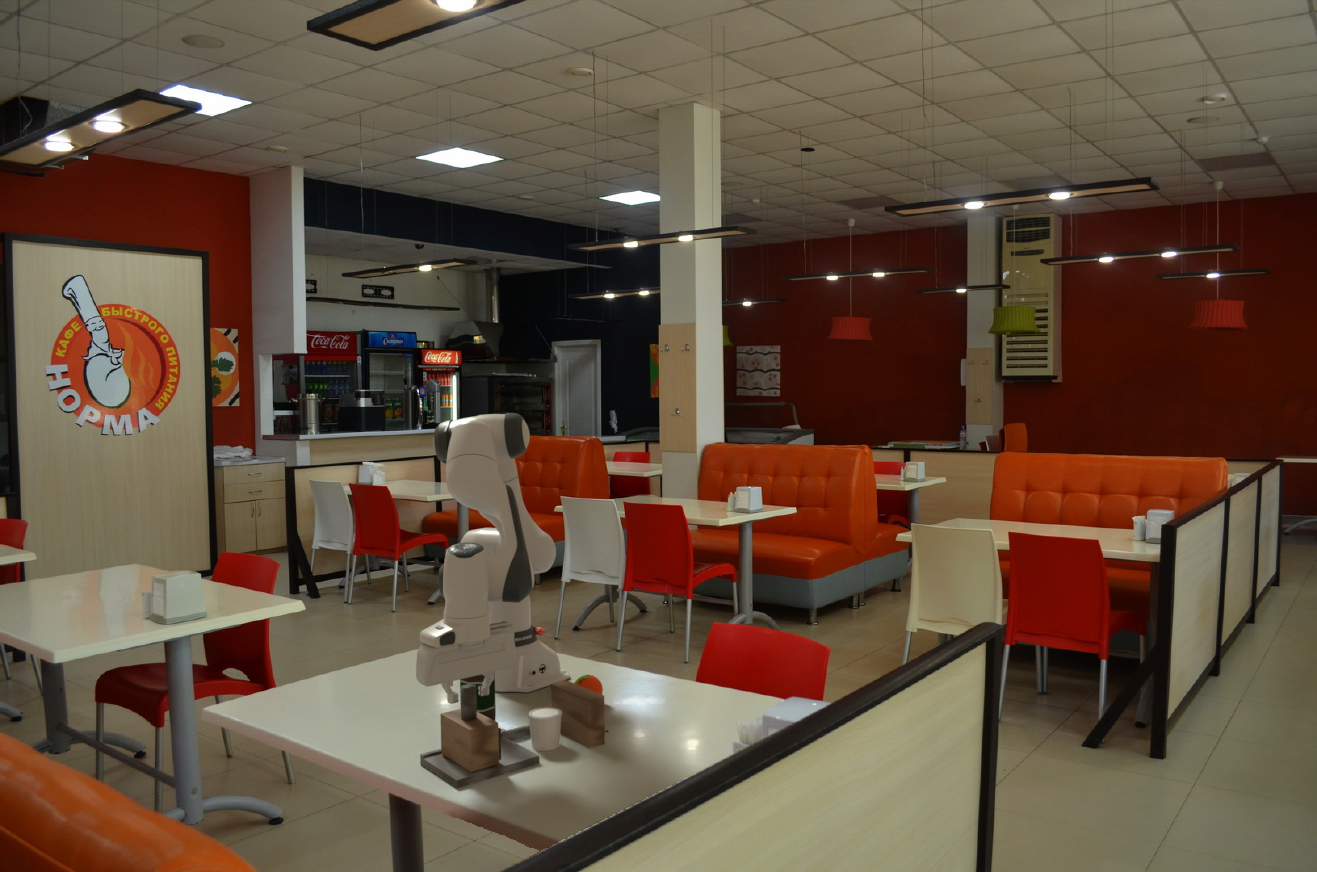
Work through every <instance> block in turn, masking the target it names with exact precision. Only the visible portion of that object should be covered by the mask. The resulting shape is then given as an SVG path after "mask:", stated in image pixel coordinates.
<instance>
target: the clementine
mask: <svg viewBox="0 0 1317 872" xmlns="http://www.w3.org/2000/svg"><path fill="white" fill-rule="evenodd" d="M573 683H574V684H577V685H579V686H582V687H584V688H587V689H589V690H592V691H594V692H596V693H599V694H601V695H603V690H604V689H603V688H604V687H603V684H602V682H601V680H600V679H599V678H598V677H596V676H595V675H593V674H583V675H581V676H580V677H578V678H577V679H576V680H575V682H573Z"/></svg>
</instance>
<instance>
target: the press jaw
mask: <svg viewBox="0 0 1317 872" xmlns="http://www.w3.org/2000/svg"><path fill="white" fill-rule="evenodd" d="M460 688H461V701H460V708H459V709H454V710H451V711H446V712H442V713H440V749H441V754H443V755H444V756H446V757H447V758H449V759H451V760H452V761H454V762H456V763H457V764H459V765H460V766H462V767H464V768H465V769H467V770H468V771H470V772H473V771H476V770H480V769H483V768H487V767H490V766H493V765H497V764H499V760H501V732H502V729H501V728H500V727H499V722H497V721H496V720H495V721H494V720H492V719H490V718H488V717H486V716H484V715H482V714H480V713H478V712H477V700H476V685H473V684H467V685H463V686H461V687H460V686H459V689H460Z"/></svg>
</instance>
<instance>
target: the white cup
mask: <svg viewBox="0 0 1317 872" xmlns="http://www.w3.org/2000/svg"><path fill="white" fill-rule="evenodd" d="M561 718H562V712H561V710H559V709H557V708H551V707H548V706H547V707H538V708H534V709H532V710H530V711H529V712H528V722H529V724H530V733H531V735H530V740H531V747H532V749H533V750H535V751H540V752H548V751H552V750H556V749H558V748H559V747H560V741H561V734H560V731H561ZM529 724H528V725H529Z"/></svg>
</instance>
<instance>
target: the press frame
mask: <svg viewBox="0 0 1317 872" xmlns="http://www.w3.org/2000/svg"><path fill="white" fill-rule="evenodd" d="M574 683H575V682H571V681H569V680H568V679H566V680H563V681H560V682H557V683H553V684H551V685H550V708H557V709H559V710H561V712H562V718H561V731H560V736H561V735H562V736H564V737H566V738H568V739H570V740H571V741H574V742H575V743H578V744H580V745H583V746H584V747H586V748H594V747H597V746H601V745H604V744H605V743H606V738H605V737H606V731H605V729H606V728H605V720H606V719H605V718H606V717H605V695H604V694H602V695H601V694H599V693H596V692H594V691H592V690H589V689H587V688H584V687H582V686H579V685H577V684H574ZM527 737H531V733H530V724H526V725H522V726H519V727H514V728H512V729H508V730H505V731H501V760H499V764H497V765H493V766H490V767H487V768H483V769H480V770H476V771H473V772H470V771H468V770H467V769H465V768H464V767H462V766H460V765H459V764H457V763H456V762H454V761H452V760H451V759H449V758H447V757H446V756H444V755H443V754H441V748H439V749H434V750H431V751H427V752H424V753H421V754H419V755H420V756H419V757H420V758H419V759H420V760H419V761H420V765H421V766H423V767H424V768H426V769H427V770H429V771H430V772H431V773H433V774H434V775H436V776H437V777H439V778H440V779H442V780H443V781H445V782H446V783H448V784H450V785H451V786H452V787H454V788H456V789H459V788H462V787H467V786H470V785H472V784H476V783H479V782H482V781H485V780H489V779H492V778H496V777H499V776H502V775H505V774H509V773H512V772H515V771H518V770H521V769H524V768H527V767H532V766H534V765H538V764H540V755H539V754H537V753H535V752H534V751H531V750H529V749H528V748H526V747H524V746H523V745H520V744H518V743H517V742H515V740H519V739H522V738H523V739H524V738H527Z"/></svg>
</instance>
